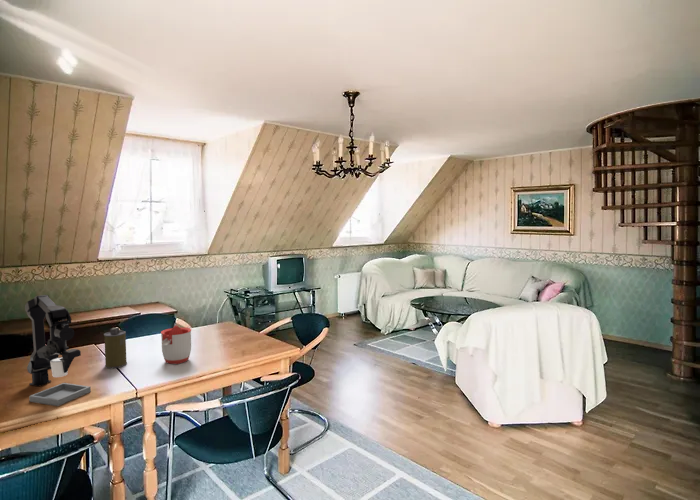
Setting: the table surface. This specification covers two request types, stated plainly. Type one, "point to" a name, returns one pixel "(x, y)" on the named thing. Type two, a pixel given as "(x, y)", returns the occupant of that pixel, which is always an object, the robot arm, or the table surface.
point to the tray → (60, 394)
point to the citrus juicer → (176, 344)
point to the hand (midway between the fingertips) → (59, 371)
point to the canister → (115, 348)
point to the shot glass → (57, 367)
